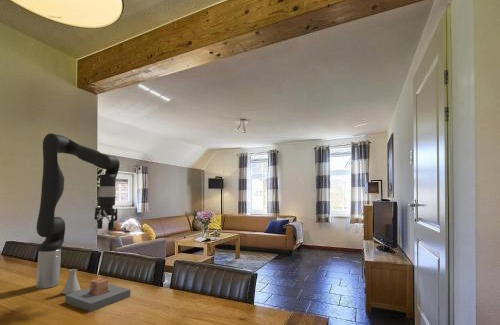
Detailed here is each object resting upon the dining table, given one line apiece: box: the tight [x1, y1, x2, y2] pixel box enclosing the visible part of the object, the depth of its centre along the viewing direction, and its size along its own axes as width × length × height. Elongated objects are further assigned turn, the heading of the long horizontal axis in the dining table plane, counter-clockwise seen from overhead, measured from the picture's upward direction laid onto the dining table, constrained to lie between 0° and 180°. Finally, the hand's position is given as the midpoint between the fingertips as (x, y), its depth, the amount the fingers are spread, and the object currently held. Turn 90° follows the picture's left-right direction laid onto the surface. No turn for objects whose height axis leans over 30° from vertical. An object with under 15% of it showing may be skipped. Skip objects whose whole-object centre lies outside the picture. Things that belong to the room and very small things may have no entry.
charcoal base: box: [64, 283, 131, 313], centre depth 121 cm, size 18×18×3 cm
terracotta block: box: [89, 277, 109, 296], centre depth 122 cm, size 5×5×8 cm
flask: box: [61, 268, 82, 295], centre depth 130 cm, size 7×7×10 cm
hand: (105, 229), depth 136 cm, fingers open, 8 cm apart
